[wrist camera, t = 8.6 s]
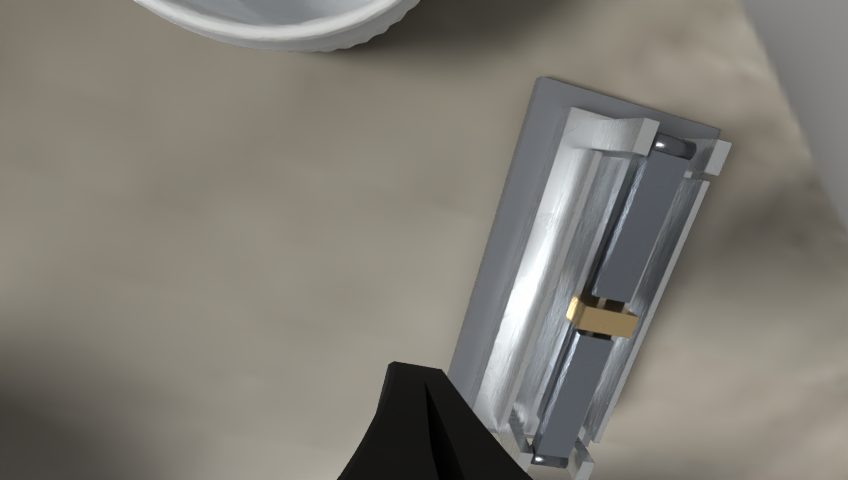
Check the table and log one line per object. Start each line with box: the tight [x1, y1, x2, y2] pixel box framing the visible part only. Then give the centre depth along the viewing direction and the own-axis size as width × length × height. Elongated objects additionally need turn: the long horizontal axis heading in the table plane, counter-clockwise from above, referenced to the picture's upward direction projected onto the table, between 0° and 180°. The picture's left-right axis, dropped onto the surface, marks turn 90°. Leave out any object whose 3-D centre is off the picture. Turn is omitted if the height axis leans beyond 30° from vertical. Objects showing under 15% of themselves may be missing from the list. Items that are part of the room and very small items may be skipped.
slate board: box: [447, 76, 720, 447], centre depth 20 cm, size 18×9×1 cm, turn 166°
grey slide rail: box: [467, 107, 732, 480], centre depth 18 cm, size 16×6×4 cm, turn 166°
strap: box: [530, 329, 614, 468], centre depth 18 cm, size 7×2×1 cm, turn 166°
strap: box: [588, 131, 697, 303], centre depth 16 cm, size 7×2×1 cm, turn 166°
